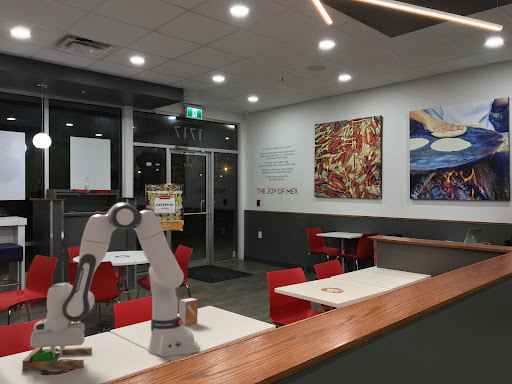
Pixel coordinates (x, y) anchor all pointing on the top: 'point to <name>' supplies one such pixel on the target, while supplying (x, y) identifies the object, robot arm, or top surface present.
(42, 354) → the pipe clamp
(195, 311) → the small box
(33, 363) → the guide channel
